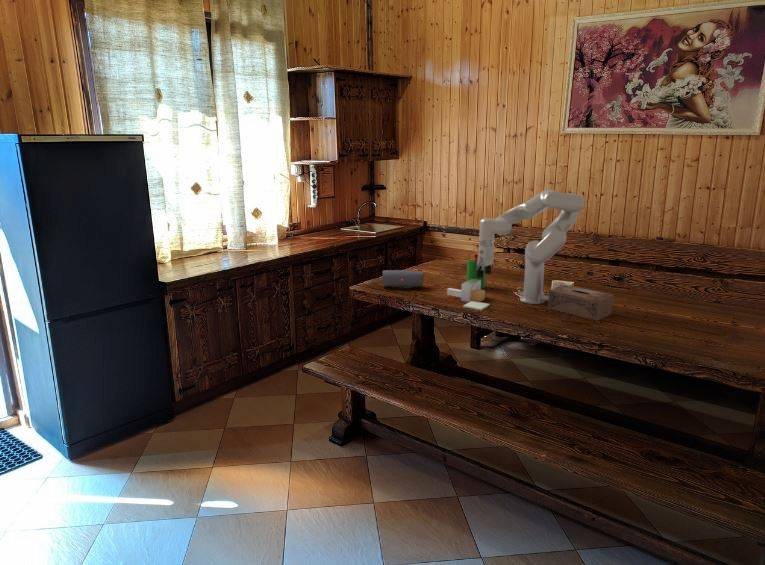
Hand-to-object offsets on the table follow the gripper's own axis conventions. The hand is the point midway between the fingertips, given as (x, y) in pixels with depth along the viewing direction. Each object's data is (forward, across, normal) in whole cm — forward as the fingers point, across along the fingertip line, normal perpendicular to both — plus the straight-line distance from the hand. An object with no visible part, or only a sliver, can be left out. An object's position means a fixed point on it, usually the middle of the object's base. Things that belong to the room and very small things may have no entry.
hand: (483, 275), depth 282 cm
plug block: (+14, 0, +3) cm, 14 cm away
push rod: (+14, 0, +13) cm, 19 cm away
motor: (+14, +22, +14) cm, 30 cm away
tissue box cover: (+13, +10, -47) cm, 50 cm away
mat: (+14, -10, -2) cm, 17 cm away
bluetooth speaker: (+15, -2, +48) cm, 51 cm away
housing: (+14, 0, +7) cm, 15 cm away
